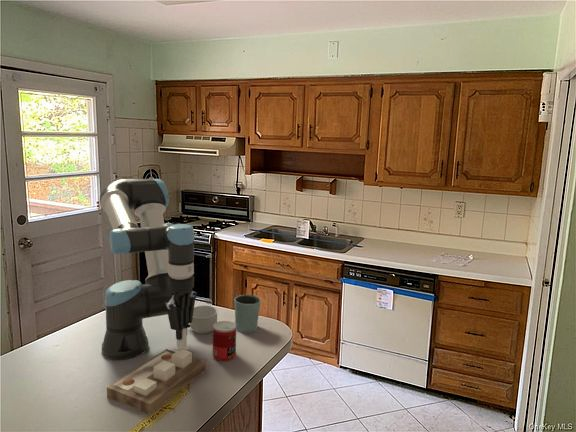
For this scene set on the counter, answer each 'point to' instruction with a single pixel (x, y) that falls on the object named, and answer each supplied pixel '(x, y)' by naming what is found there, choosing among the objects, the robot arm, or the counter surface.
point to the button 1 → (145, 386)
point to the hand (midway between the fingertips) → (181, 347)
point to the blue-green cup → (246, 313)
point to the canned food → (224, 340)
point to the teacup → (203, 319)
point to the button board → (164, 390)
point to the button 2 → (182, 358)
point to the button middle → (164, 370)
